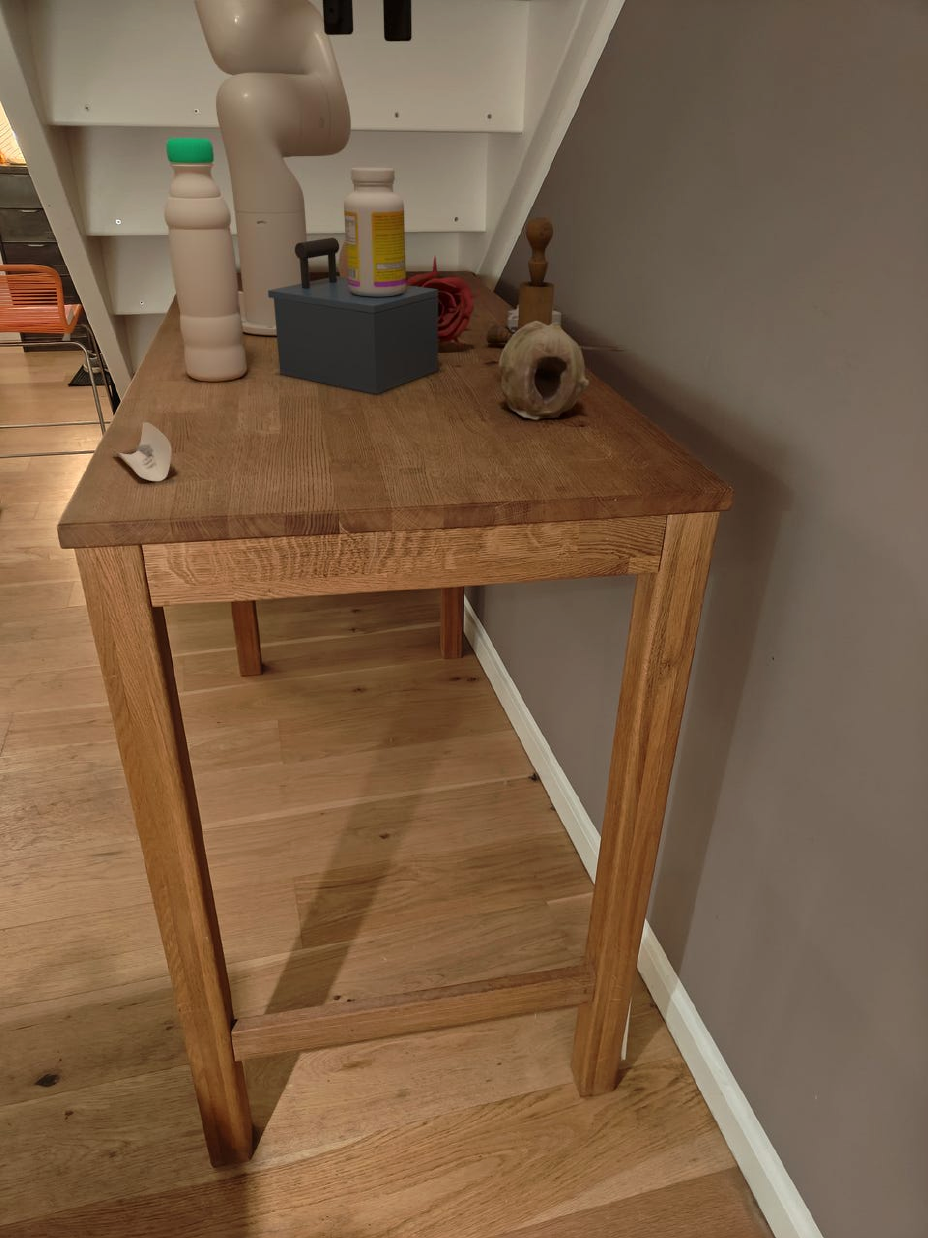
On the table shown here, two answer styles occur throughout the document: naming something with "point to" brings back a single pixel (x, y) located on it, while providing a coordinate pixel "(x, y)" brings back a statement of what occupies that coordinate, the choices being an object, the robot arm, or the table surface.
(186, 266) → the water bottle
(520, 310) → the mortar and pestle
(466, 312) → the flower
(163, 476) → the white curved plate
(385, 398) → the table surface
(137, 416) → the table surface
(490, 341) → the machete
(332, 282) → the lid
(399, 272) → the supplement bottle
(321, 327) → the chest
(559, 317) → the zipper pull
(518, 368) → the cream hollow lumpy ball
